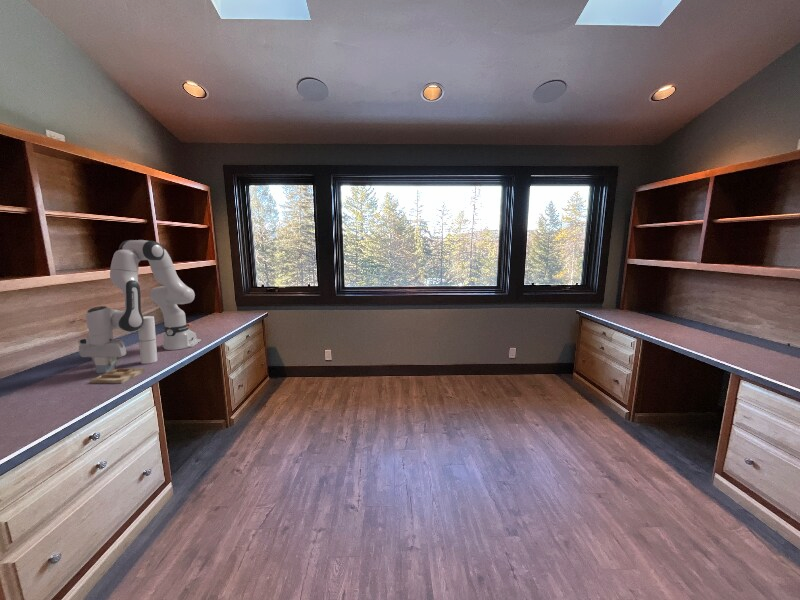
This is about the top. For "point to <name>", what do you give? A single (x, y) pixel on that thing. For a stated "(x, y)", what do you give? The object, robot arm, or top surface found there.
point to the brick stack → (103, 364)
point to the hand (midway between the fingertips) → (105, 365)
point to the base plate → (117, 376)
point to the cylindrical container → (147, 341)
